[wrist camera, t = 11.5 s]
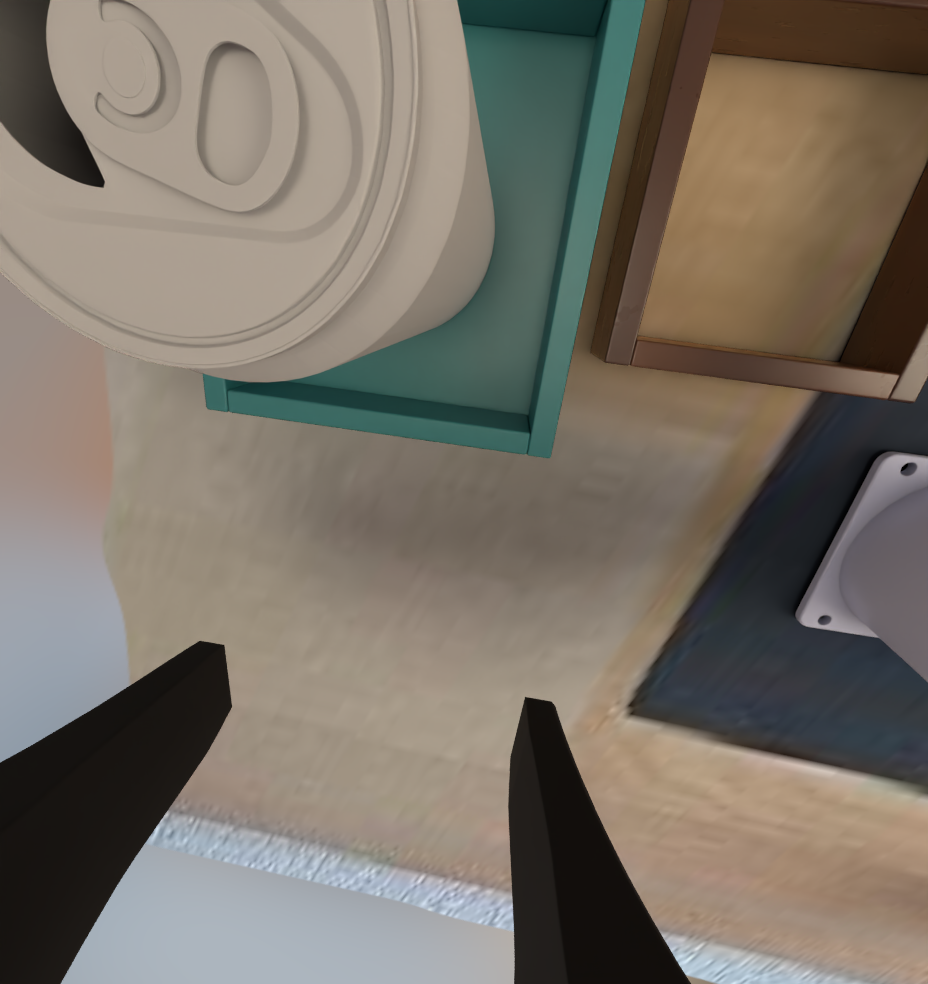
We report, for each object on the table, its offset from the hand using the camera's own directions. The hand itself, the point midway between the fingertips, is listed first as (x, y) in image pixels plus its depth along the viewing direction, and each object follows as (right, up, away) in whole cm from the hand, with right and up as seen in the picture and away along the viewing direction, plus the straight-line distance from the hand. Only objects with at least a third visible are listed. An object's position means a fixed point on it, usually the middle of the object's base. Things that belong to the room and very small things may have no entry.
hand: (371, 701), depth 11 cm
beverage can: (0, +14, +5) cm, 15 cm away
